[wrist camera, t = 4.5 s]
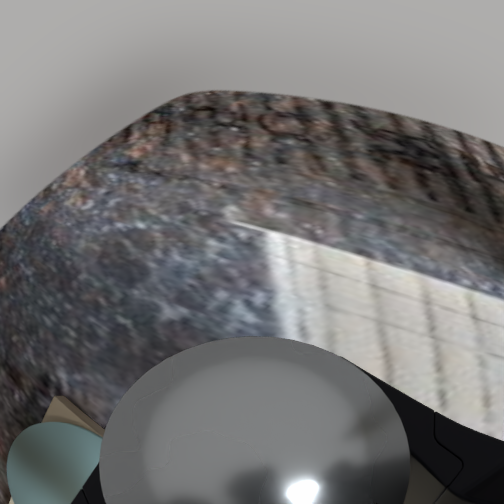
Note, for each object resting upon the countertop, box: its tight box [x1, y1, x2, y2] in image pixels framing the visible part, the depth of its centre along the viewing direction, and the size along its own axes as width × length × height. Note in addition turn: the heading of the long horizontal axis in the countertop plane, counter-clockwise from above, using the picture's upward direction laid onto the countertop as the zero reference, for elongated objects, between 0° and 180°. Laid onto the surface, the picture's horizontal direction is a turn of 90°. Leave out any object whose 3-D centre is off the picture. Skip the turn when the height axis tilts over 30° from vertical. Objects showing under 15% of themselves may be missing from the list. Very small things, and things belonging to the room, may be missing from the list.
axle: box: [99, 336, 410, 504], centre depth 9 cm, size 5×5×11 cm
